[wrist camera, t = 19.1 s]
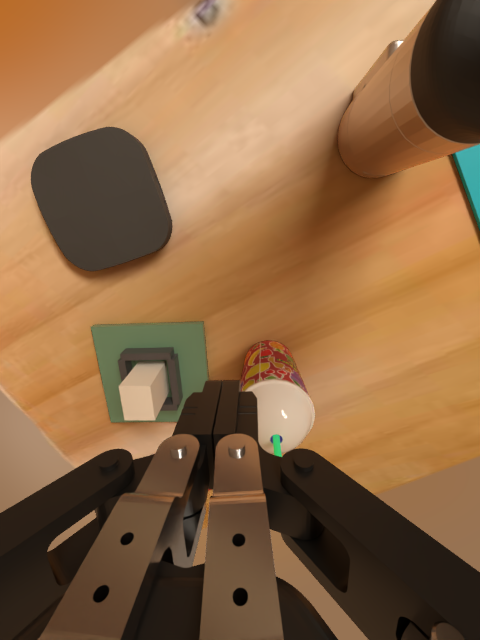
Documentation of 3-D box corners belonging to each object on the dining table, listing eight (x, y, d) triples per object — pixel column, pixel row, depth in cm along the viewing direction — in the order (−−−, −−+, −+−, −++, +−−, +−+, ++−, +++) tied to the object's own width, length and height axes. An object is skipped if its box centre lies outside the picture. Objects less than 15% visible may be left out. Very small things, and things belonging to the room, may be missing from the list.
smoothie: (307, 368, 45) (346, 478, 26) (257, 392, 46) (259, 512, 27) (279, 321, 42) (300, 403, 23) (229, 348, 44) (209, 445, 25)
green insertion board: (94, 324, 44) (83, 331, 41) (203, 321, 43) (200, 328, 40) (113, 418, 49) (104, 430, 46) (212, 417, 48) (209, 429, 45)
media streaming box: (84, 275, 42) (71, 279, 39) (31, 164, 38) (13, 159, 35) (182, 243, 40) (176, 245, 37) (138, 122, 36) (128, 113, 33)
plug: (138, 361, 44) (118, 386, 38) (165, 361, 44) (150, 386, 37) (143, 394, 46) (125, 423, 39) (169, 394, 46) (155, 423, 39)
